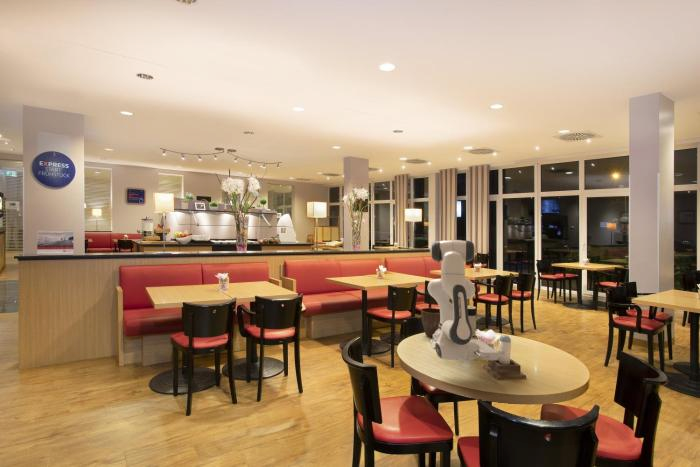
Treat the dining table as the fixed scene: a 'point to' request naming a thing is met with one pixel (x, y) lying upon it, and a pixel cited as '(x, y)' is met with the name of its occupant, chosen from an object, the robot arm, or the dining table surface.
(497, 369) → the cradle
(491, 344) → the robot arm
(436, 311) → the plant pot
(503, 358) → the white bottle
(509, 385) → the dining table surface
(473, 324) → the travel mug
